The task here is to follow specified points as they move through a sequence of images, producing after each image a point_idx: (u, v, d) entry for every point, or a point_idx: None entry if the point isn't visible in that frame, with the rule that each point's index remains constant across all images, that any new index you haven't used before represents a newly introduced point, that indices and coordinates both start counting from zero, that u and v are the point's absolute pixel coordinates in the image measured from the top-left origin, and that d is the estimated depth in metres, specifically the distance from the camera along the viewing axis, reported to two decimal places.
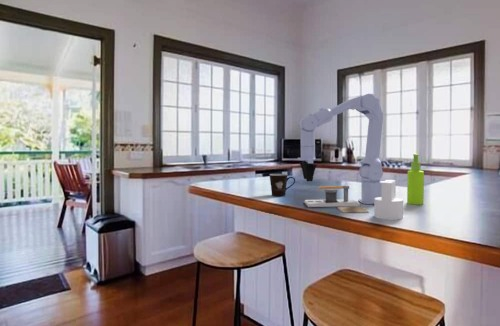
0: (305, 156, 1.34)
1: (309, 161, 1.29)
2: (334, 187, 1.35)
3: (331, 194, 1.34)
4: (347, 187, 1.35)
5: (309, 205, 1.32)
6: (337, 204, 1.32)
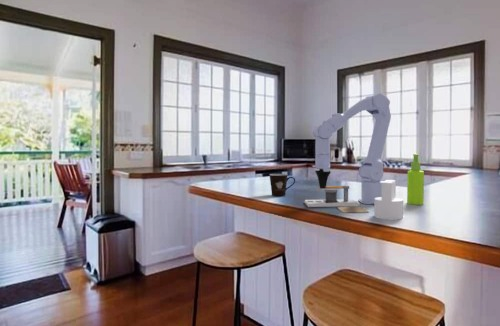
0: (320, 164, 1.32)
1: (325, 169, 1.28)
2: (334, 187, 1.35)
3: (331, 194, 1.34)
4: (347, 187, 1.35)
5: (309, 205, 1.32)
6: (337, 204, 1.32)
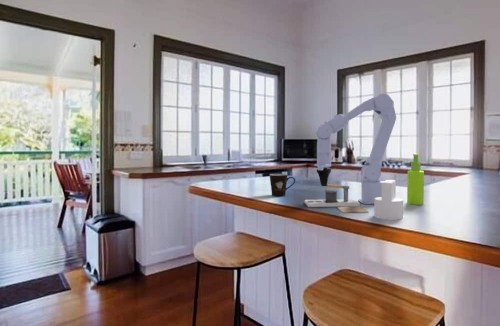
0: (319, 163, 1.39)
1: (318, 168, 1.35)
2: (334, 186, 1.39)
3: (331, 194, 1.34)
4: (345, 187, 1.35)
5: (309, 205, 1.32)
6: (337, 204, 1.32)
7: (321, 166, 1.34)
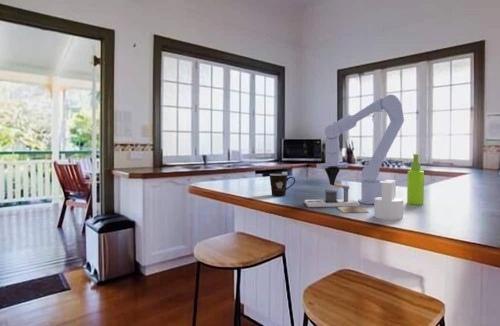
0: (325, 162, 1.45)
1: (317, 166, 1.42)
2: (338, 185, 1.40)
3: (331, 194, 1.34)
4: (343, 187, 1.35)
5: (309, 205, 1.32)
6: (337, 204, 1.32)
7: (318, 165, 1.41)
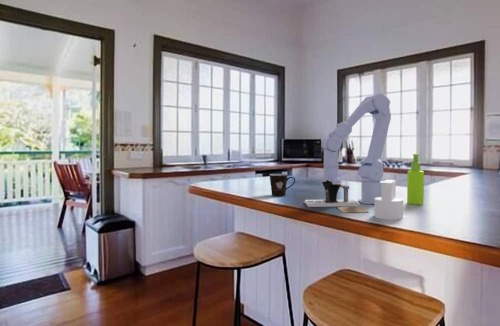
0: (329, 176, 1.33)
1: (334, 182, 1.28)
2: None
3: None
4: (343, 187, 1.35)
5: (309, 205, 1.32)
6: (337, 204, 1.32)
7: (336, 180, 1.28)
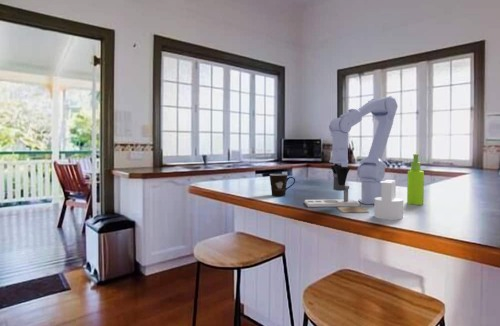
0: (338, 159, 1.27)
1: (343, 164, 1.23)
2: None
3: None
4: None
5: (309, 205, 1.32)
6: (337, 204, 1.32)
7: (346, 162, 1.23)
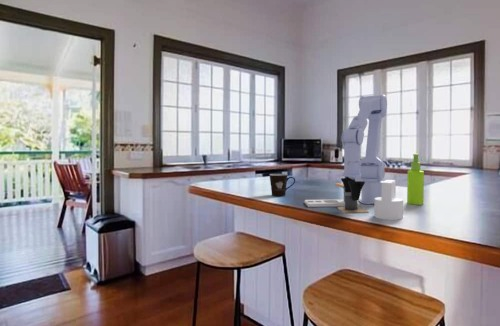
0: (350, 172, 1.21)
1: (357, 179, 1.16)
2: (340, 185, 1.40)
3: (351, 198, 1.22)
4: (343, 187, 1.35)
5: (309, 205, 1.32)
6: (337, 204, 1.32)
7: (360, 177, 1.16)
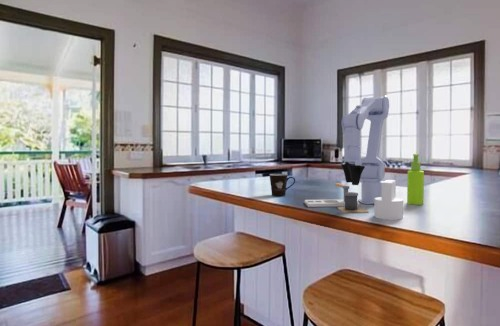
0: (350, 157, 1.20)
1: (357, 163, 1.16)
2: (340, 185, 1.40)
3: (351, 198, 1.22)
4: (343, 187, 1.35)
5: (309, 205, 1.32)
6: (337, 204, 1.32)
7: (360, 161, 1.16)
